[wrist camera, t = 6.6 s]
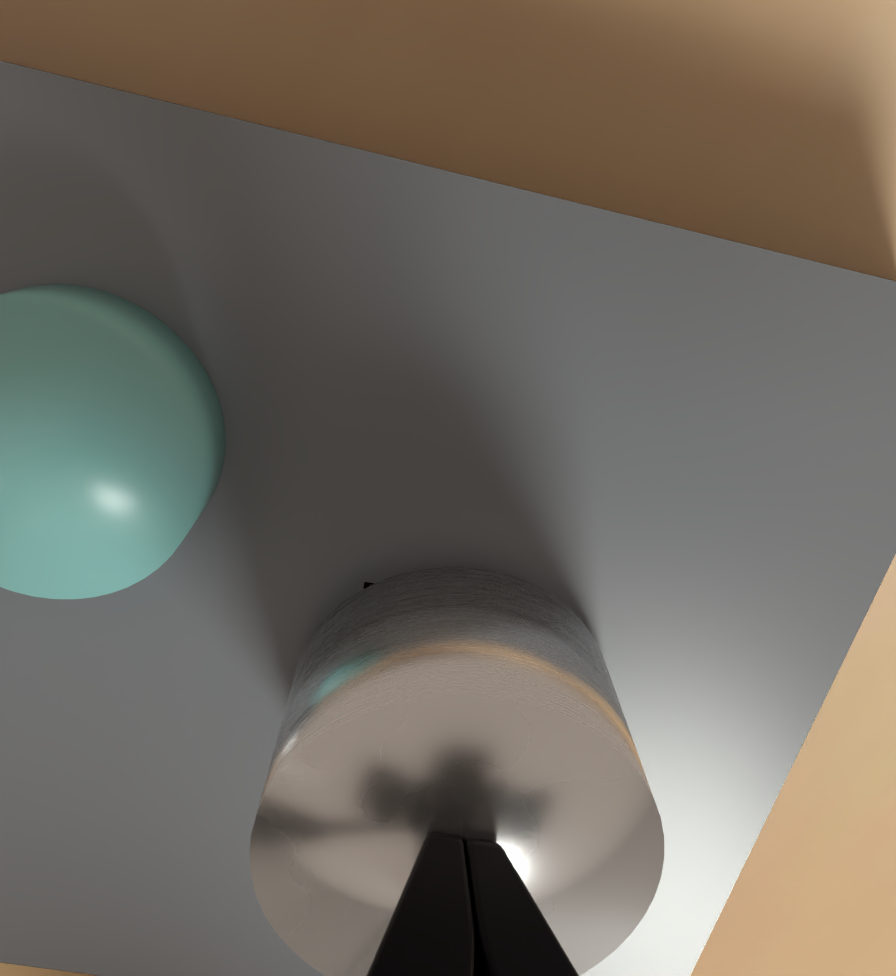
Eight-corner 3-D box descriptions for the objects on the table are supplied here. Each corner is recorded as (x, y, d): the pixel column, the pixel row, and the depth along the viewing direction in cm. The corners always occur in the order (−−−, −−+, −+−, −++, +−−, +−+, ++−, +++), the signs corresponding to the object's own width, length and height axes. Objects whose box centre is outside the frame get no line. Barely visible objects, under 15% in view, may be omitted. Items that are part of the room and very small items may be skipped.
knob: (298, 695, 14) (224, 980, 9) (341, 465, 13) (283, 659, 8) (539, 737, 15) (595, 1029, 10) (610, 520, 13) (723, 737, 8)
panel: (-488, 763, 15) (-661, 873, 12) (-720, -115, 10) (-1080, -206, 7) (623, 930, 17) (653, 1050, 15) (900, 284, 12) (1014, 310, 10)
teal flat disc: (-63, 527, 10) (-122, 568, 9) (-66, 252, 9) (-135, 262, 8) (209, 577, 11) (183, 623, 10) (243, 320, 10) (217, 339, 8)
